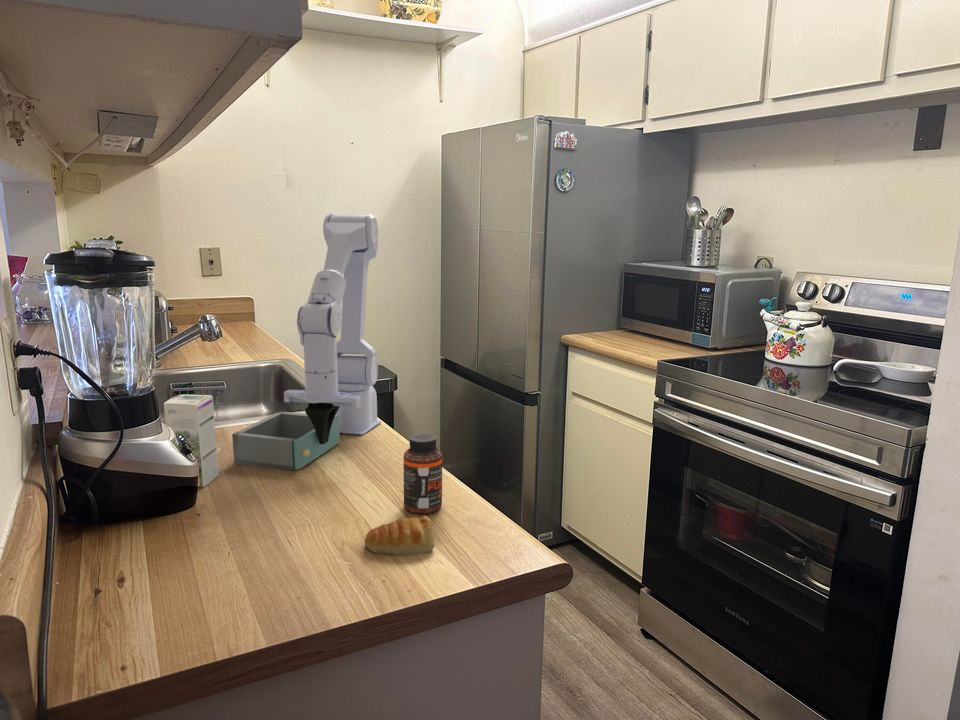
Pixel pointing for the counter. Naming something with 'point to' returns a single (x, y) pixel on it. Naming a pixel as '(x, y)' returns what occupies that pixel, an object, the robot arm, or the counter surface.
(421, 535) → the pastry
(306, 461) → the door
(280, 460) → the grey open box
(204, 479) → the syrup box
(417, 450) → the supplement bottle
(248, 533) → the counter surface
